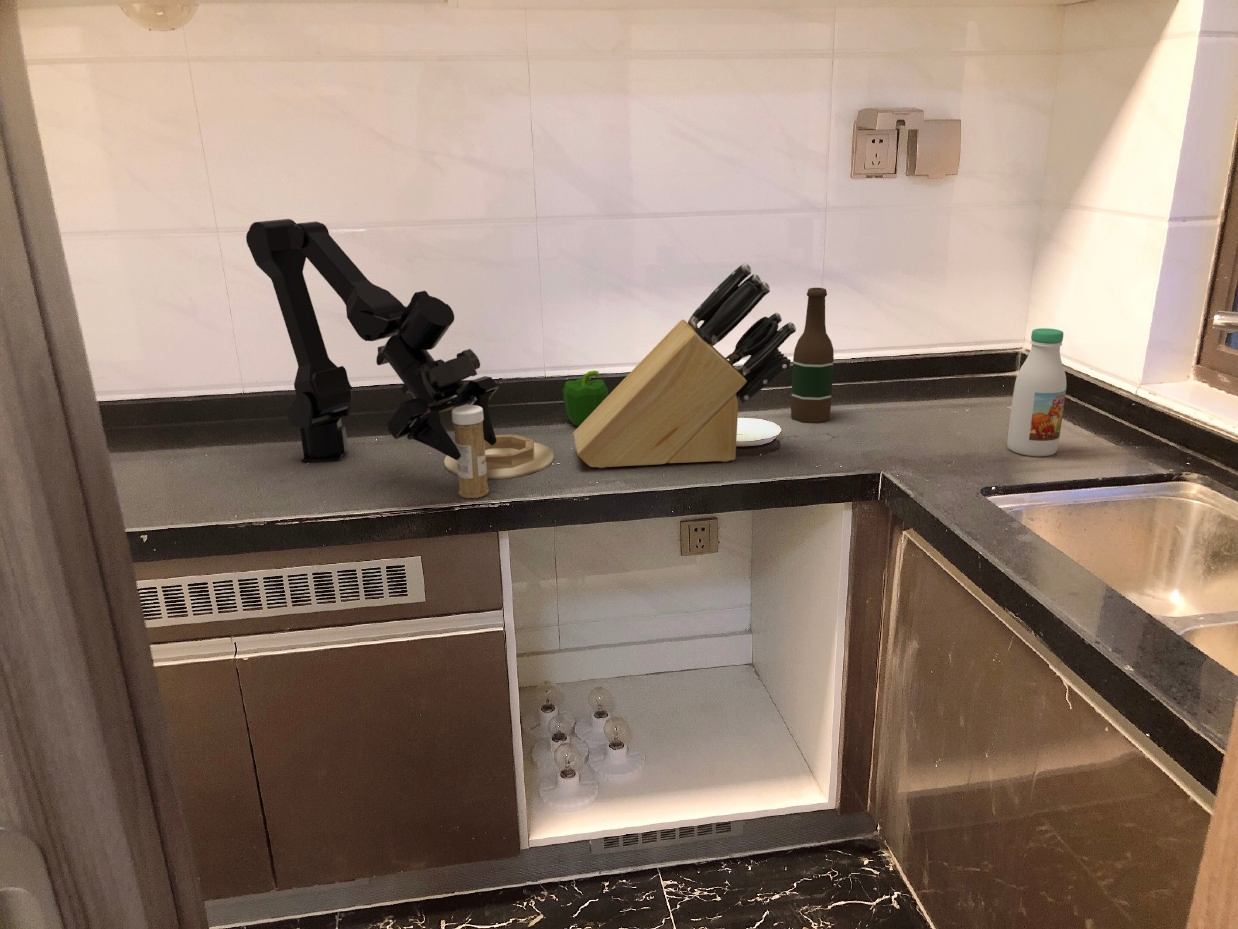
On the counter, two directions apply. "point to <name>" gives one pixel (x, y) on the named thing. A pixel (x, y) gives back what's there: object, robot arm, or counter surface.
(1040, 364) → the milk bottle
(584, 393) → the bell pepper
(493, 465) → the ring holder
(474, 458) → the sprinkles bottle
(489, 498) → the counter surface
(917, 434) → the counter surface
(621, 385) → the knife block
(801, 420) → the beer bottle
